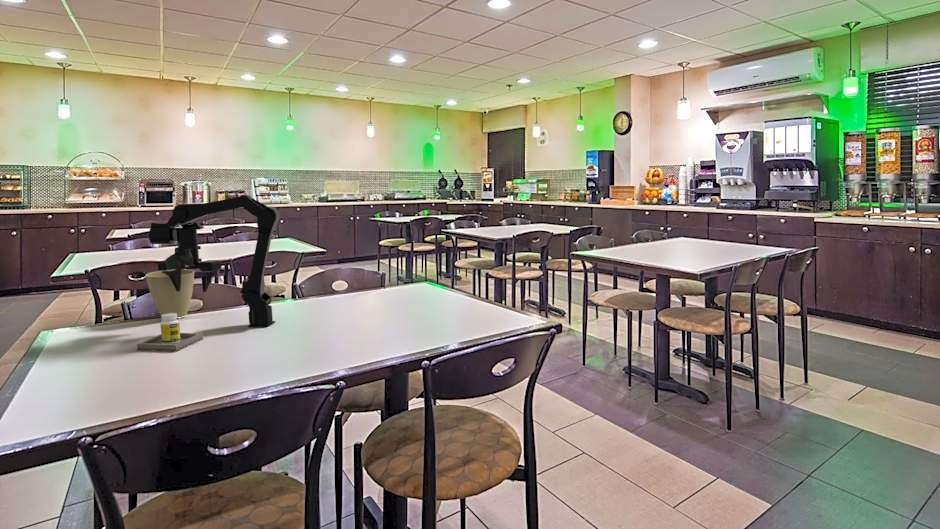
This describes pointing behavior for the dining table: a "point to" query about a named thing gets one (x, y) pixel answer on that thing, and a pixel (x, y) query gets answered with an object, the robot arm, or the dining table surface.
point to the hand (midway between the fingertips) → (191, 291)
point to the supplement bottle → (170, 328)
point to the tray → (157, 344)
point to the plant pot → (171, 292)
